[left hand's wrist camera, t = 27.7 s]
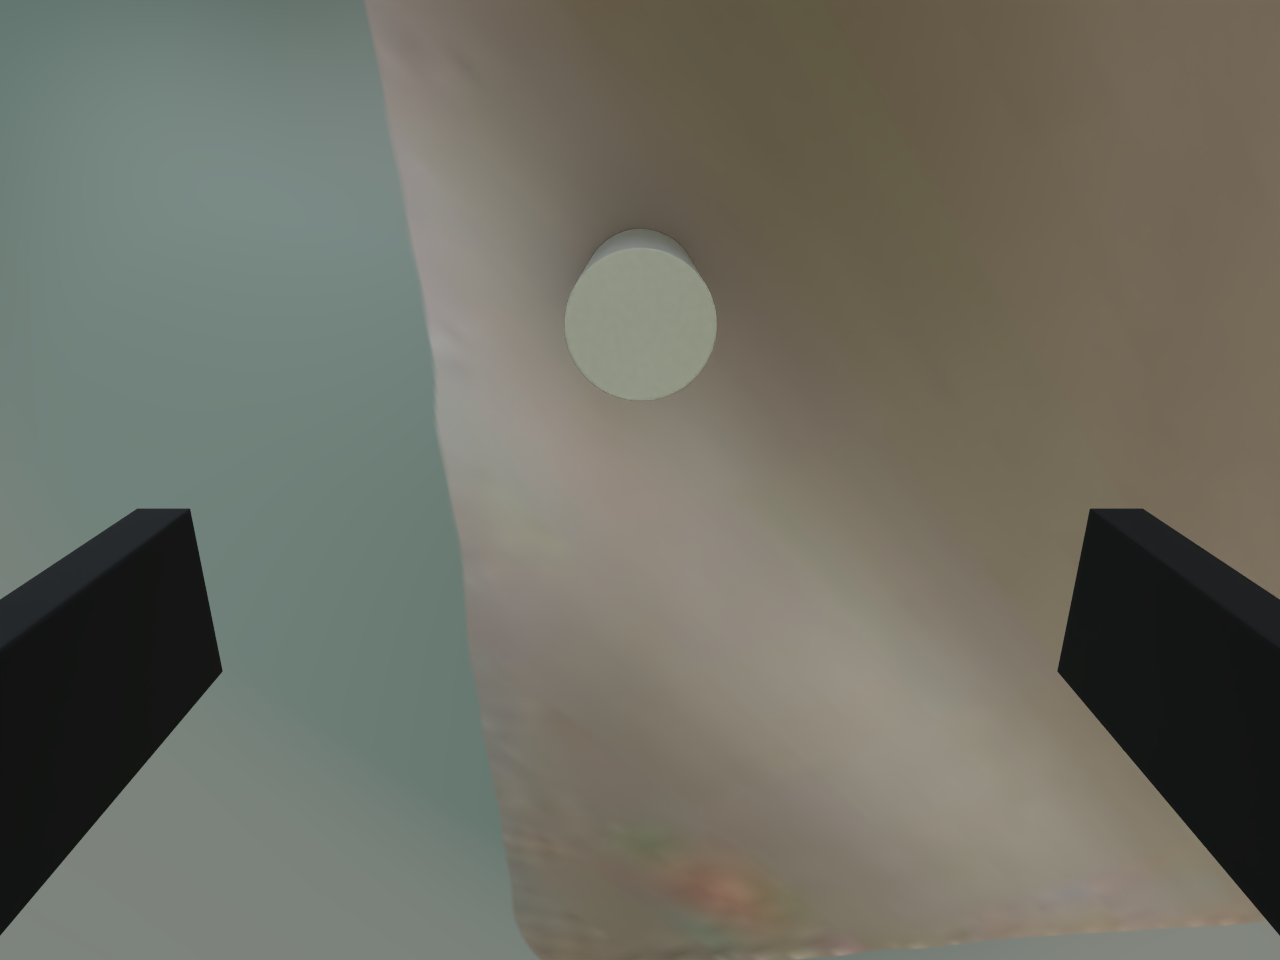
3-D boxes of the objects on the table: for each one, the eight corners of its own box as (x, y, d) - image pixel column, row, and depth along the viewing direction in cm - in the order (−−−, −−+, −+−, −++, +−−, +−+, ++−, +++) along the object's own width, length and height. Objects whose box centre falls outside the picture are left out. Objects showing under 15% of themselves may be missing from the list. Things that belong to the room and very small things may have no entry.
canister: (575, 237, 45) (552, 259, 33) (690, 220, 45) (708, 237, 33) (593, 351, 47) (577, 410, 35) (703, 336, 47) (724, 390, 35)
